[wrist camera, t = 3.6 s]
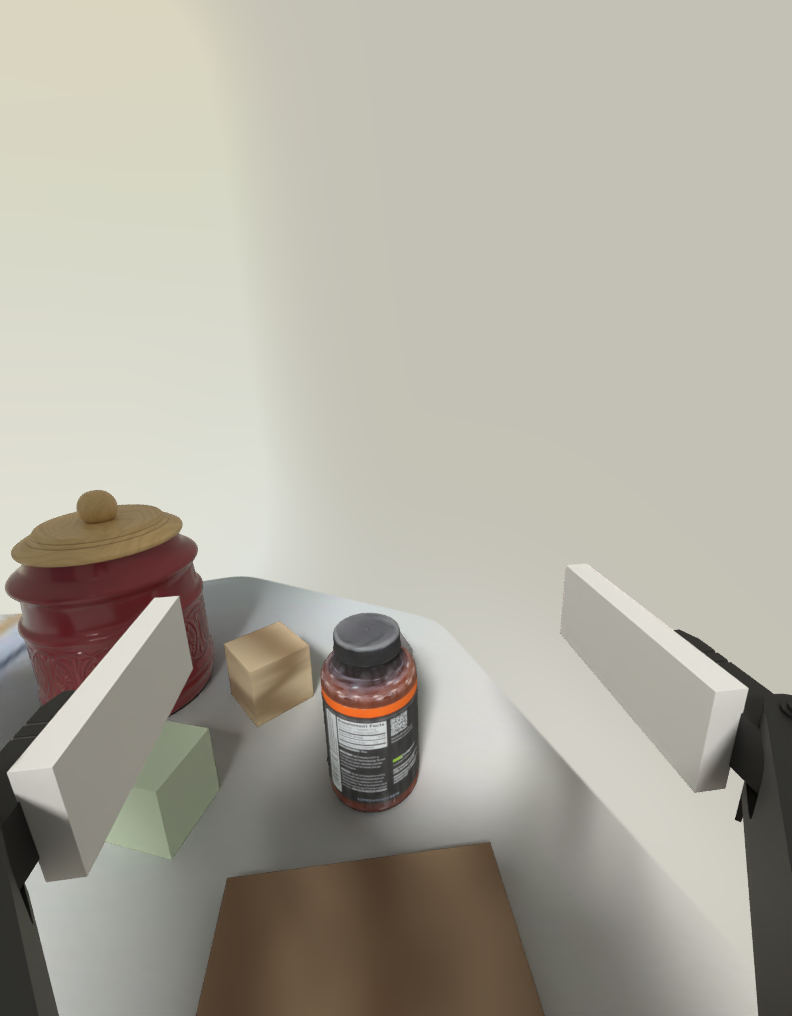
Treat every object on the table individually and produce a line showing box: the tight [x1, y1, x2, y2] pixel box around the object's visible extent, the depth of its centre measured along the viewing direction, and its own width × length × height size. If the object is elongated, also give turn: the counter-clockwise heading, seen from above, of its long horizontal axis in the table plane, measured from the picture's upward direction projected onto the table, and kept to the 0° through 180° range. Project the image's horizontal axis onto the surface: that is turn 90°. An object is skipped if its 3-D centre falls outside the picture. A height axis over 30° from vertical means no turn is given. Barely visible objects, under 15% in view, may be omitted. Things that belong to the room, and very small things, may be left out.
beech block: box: [224, 621, 314, 727], centre depth 37 cm, size 5×5×5 cm
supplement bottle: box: [321, 613, 418, 812], centre depth 28 cm, size 6×6×11 cm
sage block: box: [105, 721, 220, 860], centre depth 27 cm, size 4×4×5 cm
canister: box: [5, 490, 214, 714], centre depth 37 cm, size 13×13×18 cm
